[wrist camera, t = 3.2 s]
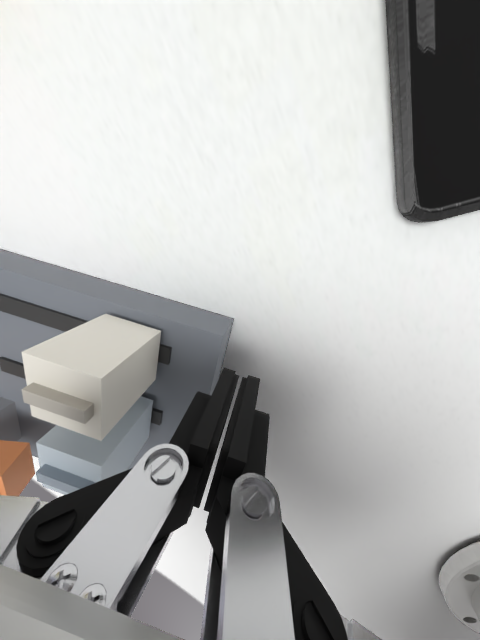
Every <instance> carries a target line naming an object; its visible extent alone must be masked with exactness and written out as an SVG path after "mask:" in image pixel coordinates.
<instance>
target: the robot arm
mask: <svg viewBox="0 0 480 640" xmlns="http://www.w3.org/2000/svg"><path fill="white" fill-rule="evenodd" d="M238 378H239V376H238V375H235V371H233V370H230V369H227V368H224V369H223V371H222V373H221V375H220V377H219V380H218V382H217V384H216V386H215V389H214V391H213V393H212V395H208V394H205V393H202V392H199V391H198V392H197V393H196V394H195V396H194V398H193V400H192V402H191V404H190V405H189V407H188V409H187V411H186V413H185V415H184V416H183V418H182V420H181V422H180V424H179V426H178V427H177V429H176V431H175V433H174V435H173V437H172V438H171V440H170V442H169V444H161V445H157V446H155V447H153V448H151V449H150V450H149V451H147V452H146V453H145V454H144V455H143V457H142V458H141V459H140V460H139V461H138V463H137V464H136V465H135V466H134V467H133V468H131V469H129V470H126V471H124V472H121V473H119V474H116V475H114V476H111V477H109V478H106V479H104V480H101V481H99V482H96V483H94V484H91V485H89V486H86V487H84V488H81V489H79V490H76V491H74V492H71V493H69V494H66V495H64V496H61V497H59V498H57V499H55V500H53V501H51V502H40V499H39V498H34V497H20V496H5V495H0V640H184V639H181V638H179V637H177V636H174V635H172V634H170V633H167V632H165V631H162V630H160V629H157V628H155V627H153V626H150V625H148V624H146V623H143V622H141V621H138V620H136V619H133V618H131V615H132V613H133V611H134V609H135V607H136V605H137V603H138V602H139V599H140V597H141V596H142V594H143V592H144V590H145V587H146V586H147V584H148V582H149V580H150V578H151V576H152V574H153V572H154V570H155V568H156V566H157V564H158V562H159V560H160V558H161V556H162V554H163V552H164V550H165V548H166V546H167V544H168V542H169V540H170V539H171V537H172V534H173V531H175V530H176V529H178V528H180V527H181V526H183V525H184V524H186V523H187V521H188V518H189V517H190V515H191V512H192V509H193V506H194V507H197V508H199V506H200V503H201V500H202V497H203V494H204V490H205V487H206V484H207V481H208V477H209V474H210V471H211V468H212V464H213V461H214V458H215V455H216V451H217V448H218V445H219V442H220V439H221V435H222V432H223V429H224V426H225V422H226V419H227V415H228V412H229V409H230V405H231V402H232V398H233V395H234V392H235V388H236V385H237V381H238ZM259 382H260V379H259V378H256V377H252V376H249V375H248V378H245V377H243V378H242V381H241V385H240V388H239V391H238V395H237V398H236V401H235V405H234V408H233V411H232V415H231V418H230V421H229V425H228V428H227V431H226V435H225V438H224V442H223V445H222V449H221V452H220V456H219V459H218V462H217V466H216V469H215V473H214V476H213V480H212V483H211V487H210V490H209V493H208V497H207V500H206V504H205V507H204V510H205V511H208V512H209V515H208V519H207V526H206V533H207V535H208V538H209V540H210V543H211V545H212V547H211V551H210V560H209V569H208V577H207V586H206V595H205V603H204V612H203V621H202V629H201V638H200V640H381V639H380V638H379V637H377V636H376V635H375V634H373V633H372V632H370V631H369V630H368V629H366V628H365V627H363V626H362V625H361V624H359V623H358V622H357V621H355V620H354V619H352V620H351V621H349V620H347V619H346V618H344V617H343V616H342V615H340V614H339V612H338V610H337V608H336V606H335V604H334V603H333V601H332V599H331V598H330V596H329V595H328V593H327V592H326V590H325V588H324V587H323V585H322V584H321V582H320V581H319V579H318V577H317V576H316V574H315V573H314V571H313V570H312V568H311V566H310V565H309V563H308V562H307V560H306V559H305V557H304V555H303V554H302V552H301V551H300V549H299V548H298V546H297V544H296V543H295V541H294V540H293V538H292V537H291V535H290V533H289V532H288V530H287V529H286V527H285V525H284V524H283V522H282V519H281V510H280V502H279V498H278V494H277V492H276V490H275V488H274V486H273V485H272V484H271V483H270V481H269V480H268V479H266V478H265V466H266V454H267V442H268V429H269V414H266V413H263V412H260V411H257V410H255V407H256V401H257V395H258V388H259ZM439 586H440V589H441V591H442V594H443V596H444V599H445V601H446V604H447V606H448V607H449V609H450V611H451V612H452V614H453V615H454V616H455V617H456V618H457V619H458V620H459V621H461V622H462V623H463V624H464V625H466V626H467V627H469V628H470V629H472V630H473V631H475V632H477V633H479V634H480V541H478V542H475V543H472V544H470V545H468V546H466V547H464V548H462V549H460V550H459V551H457V552H456V553H455V554H453V555H452V556H451V557H449V559H448V560H447V561H446V562H445V563H444V565H443V566H442V568H441V571H440V574H439Z"/></svg>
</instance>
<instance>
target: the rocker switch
mask: <svg viewBox="0 0 480 640" xmlns="http://www.w3.org/2000/svg"><path fill="white" fill-rule="evenodd" d="M34 474H35V471H34V465H33V459H32V454H31V448H30V443H27V442H16V441H4V440H0V495H5V496H19V495H20V494H21V492H22V491H23V489H24V488H25V487H26V485H27V484H28V482H29V481H30V480H31V478H32V477H33V476H34Z"/></svg>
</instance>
